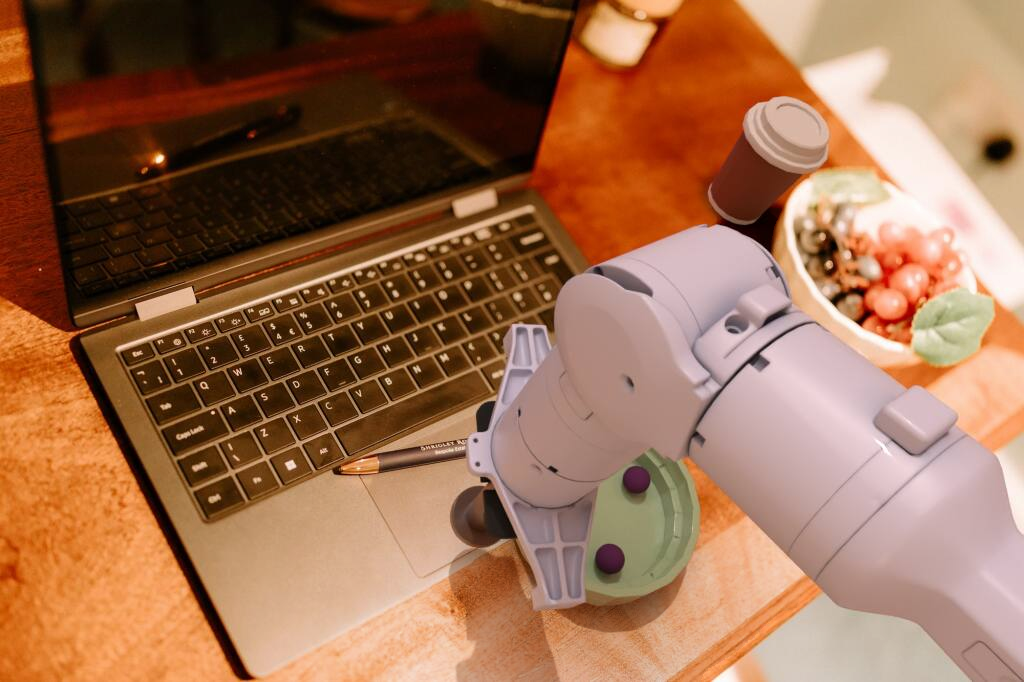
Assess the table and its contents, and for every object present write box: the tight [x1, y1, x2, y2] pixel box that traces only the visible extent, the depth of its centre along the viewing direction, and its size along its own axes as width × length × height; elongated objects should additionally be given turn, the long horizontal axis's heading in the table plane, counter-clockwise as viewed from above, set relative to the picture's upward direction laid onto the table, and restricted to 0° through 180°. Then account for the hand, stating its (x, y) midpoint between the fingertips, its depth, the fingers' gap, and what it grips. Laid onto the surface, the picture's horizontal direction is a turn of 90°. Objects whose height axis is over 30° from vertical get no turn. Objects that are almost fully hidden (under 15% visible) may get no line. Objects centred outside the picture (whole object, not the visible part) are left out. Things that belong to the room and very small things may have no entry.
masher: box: [449, 480, 502, 549], centre depth 44 cm, size 4×4×8 cm
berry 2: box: [623, 466, 650, 494], centre depth 56 cm, size 2×2×2 cm
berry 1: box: [595, 544, 625, 574], centre depth 52 cm, size 2×2×2 cm
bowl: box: [515, 448, 701, 607], centre depth 54 cm, size 14×14×4 cm
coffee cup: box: [707, 95, 831, 226], centre depth 73 cm, size 9×9×12 cm
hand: (497, 499), depth 43 cm, fingers closed on masher, 2 cm apart
